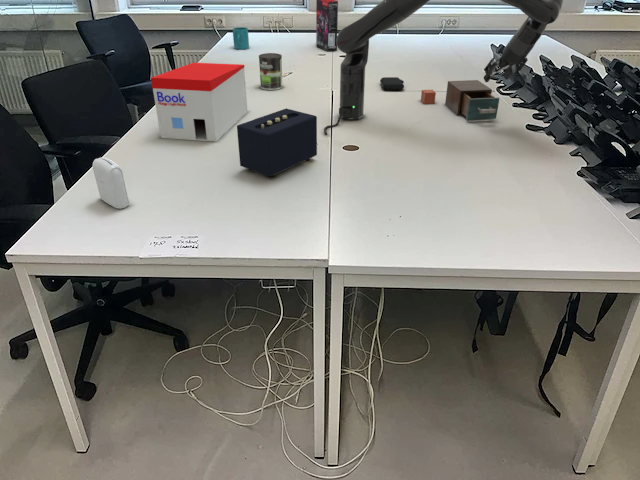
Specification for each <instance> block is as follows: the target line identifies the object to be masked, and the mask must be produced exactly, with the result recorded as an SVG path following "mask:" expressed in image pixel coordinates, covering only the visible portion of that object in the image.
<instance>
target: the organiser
mask: <svg viewBox="0 0 640 480" xmlns="http://www.w3.org/2000/svg"><path fill="white" fill-rule="evenodd" d="M469 92H488V93H490V94H491V95H492V92H493V89H492V88H491V87H489V86H487V85H486V84H485V83H483V82H481V81H480V80H478V79H469V80H466V79H465V80H448V81H447V85H446V94H445V102H444V105H445V106H446V107H447V108H448V109H450V110H451V112H453V113H454V114H455V115H456V116H464V115H463V114H462V113H461V112H460V105H461V98H462V93H469Z"/></svg>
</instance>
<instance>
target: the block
mask: <svg viewBox="0 0 640 480" xmlns="http://www.w3.org/2000/svg"><path fill="white" fill-rule="evenodd" d="M436 95H437V92H436V91H435V90H434V89H421V95H420V102H421V103H422V104H423V105H430V104H431V105H432V104H435V102H436Z"/></svg>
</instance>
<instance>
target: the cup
mask: <svg viewBox="0 0 640 480" xmlns="http://www.w3.org/2000/svg"><path fill="white" fill-rule="evenodd" d="M232 37H233V39H232V40H233V48H234V49H235V50H241V51H242V50H248V49H249V48H250V40H249V39H250V38H249V28H248V27H245V26H237V27H233V28H232Z"/></svg>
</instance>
